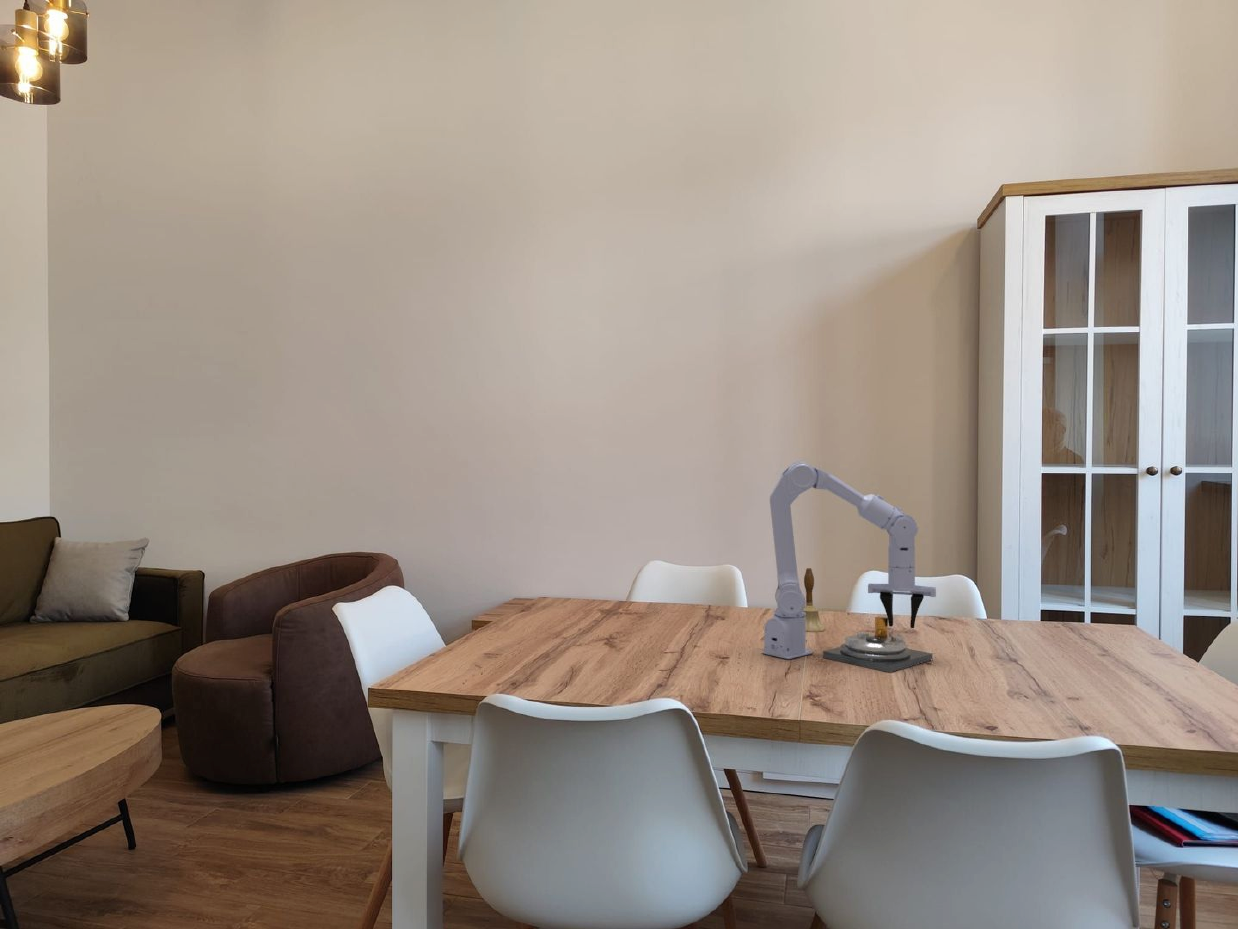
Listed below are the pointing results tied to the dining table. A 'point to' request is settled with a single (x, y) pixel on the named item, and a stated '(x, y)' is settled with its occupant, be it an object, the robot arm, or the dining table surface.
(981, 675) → the dining table surface
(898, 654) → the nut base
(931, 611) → the dining table surface
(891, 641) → the grey crank wheel
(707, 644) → the dining table surface
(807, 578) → the hand bell
